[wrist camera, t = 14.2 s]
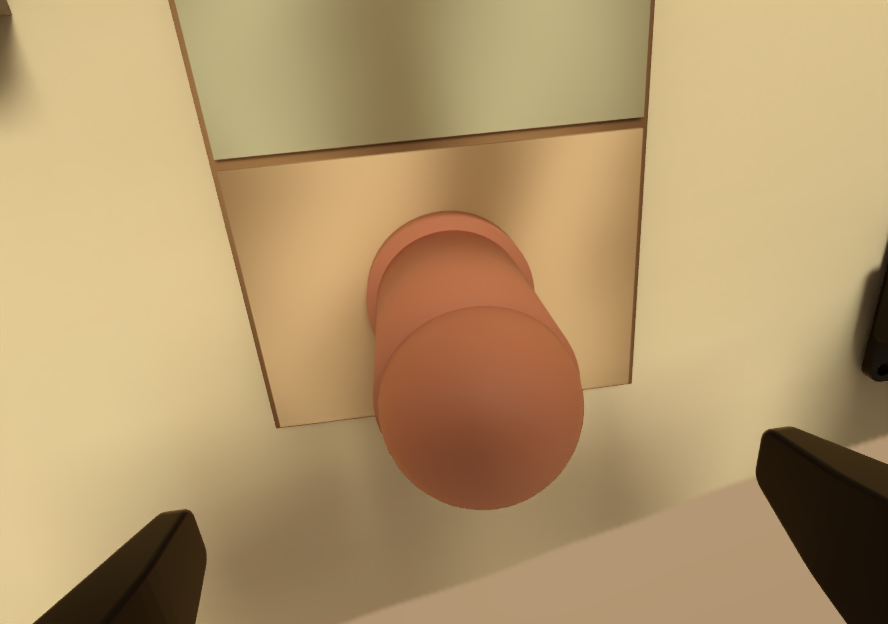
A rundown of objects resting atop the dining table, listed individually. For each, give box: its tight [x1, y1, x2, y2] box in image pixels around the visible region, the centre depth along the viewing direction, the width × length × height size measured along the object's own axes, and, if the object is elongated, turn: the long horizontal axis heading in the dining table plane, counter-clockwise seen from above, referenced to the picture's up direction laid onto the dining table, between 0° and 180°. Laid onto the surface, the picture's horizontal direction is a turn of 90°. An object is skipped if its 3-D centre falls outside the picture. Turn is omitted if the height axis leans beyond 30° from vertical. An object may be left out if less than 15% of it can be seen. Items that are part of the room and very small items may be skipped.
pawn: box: [366, 211, 584, 510], centre depth 13 cm, size 5×5×8 cm
